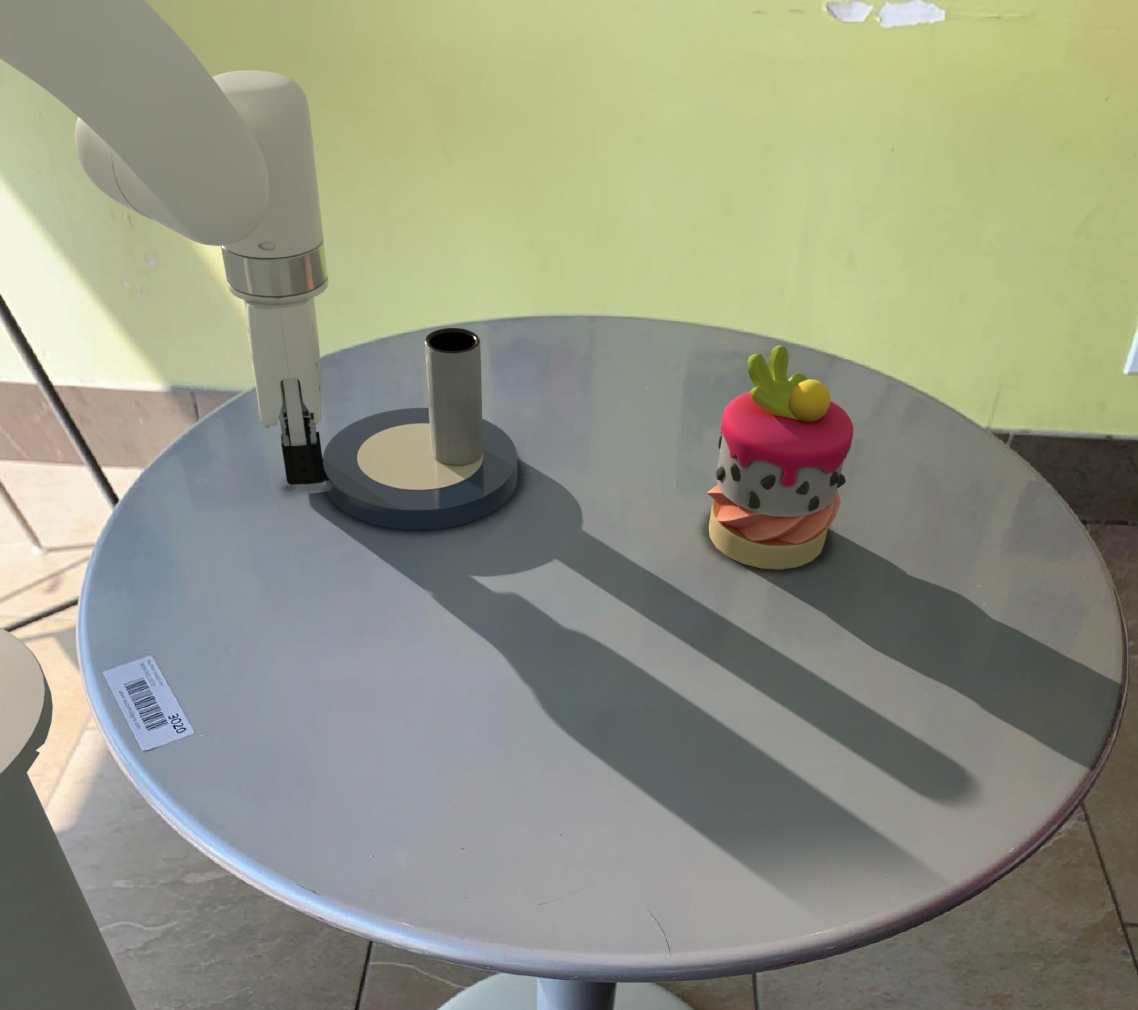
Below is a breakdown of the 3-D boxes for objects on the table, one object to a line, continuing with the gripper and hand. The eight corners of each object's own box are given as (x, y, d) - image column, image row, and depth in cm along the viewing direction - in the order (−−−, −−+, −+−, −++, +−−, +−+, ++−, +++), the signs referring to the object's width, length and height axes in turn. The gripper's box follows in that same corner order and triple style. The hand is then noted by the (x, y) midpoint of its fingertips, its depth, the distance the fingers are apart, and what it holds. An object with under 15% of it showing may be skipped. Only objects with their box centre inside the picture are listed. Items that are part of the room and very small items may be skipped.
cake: (845, 523, 96) (887, 357, 85) (802, 587, 89) (841, 416, 78) (733, 488, 99) (760, 324, 88) (684, 546, 93) (706, 377, 82)
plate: (330, 539, 92) (327, 518, 90) (320, 434, 103) (317, 413, 102) (533, 521, 94) (533, 500, 93) (500, 421, 106) (500, 401, 104)
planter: (492, 447, 98) (490, 335, 91) (466, 471, 96) (462, 357, 88) (448, 434, 100) (442, 322, 92) (421, 457, 97) (413, 344, 90)
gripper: (225, 228, 88) (261, 438, 101) (223, 309, 78) (263, 530, 91) (321, 226, 89) (344, 433, 102) (331, 304, 79) (355, 523, 92)
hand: (306, 478), depth 97 cm, fingers closed
